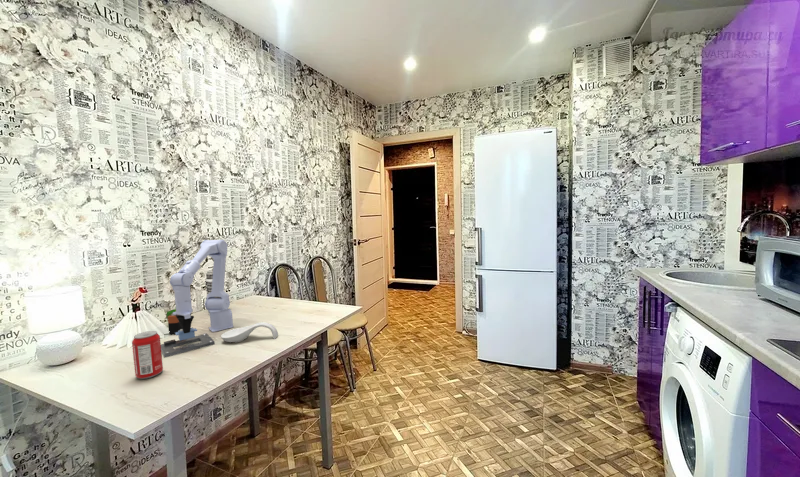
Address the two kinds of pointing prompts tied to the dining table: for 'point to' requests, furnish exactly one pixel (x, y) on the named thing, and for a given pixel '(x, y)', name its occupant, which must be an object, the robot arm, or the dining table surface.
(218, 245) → the robot arm
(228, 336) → the spoon rest
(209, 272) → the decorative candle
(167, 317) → the bell pepper
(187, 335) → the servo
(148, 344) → the soda can
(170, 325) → the battery
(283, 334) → the dining table surface
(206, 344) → the plate
